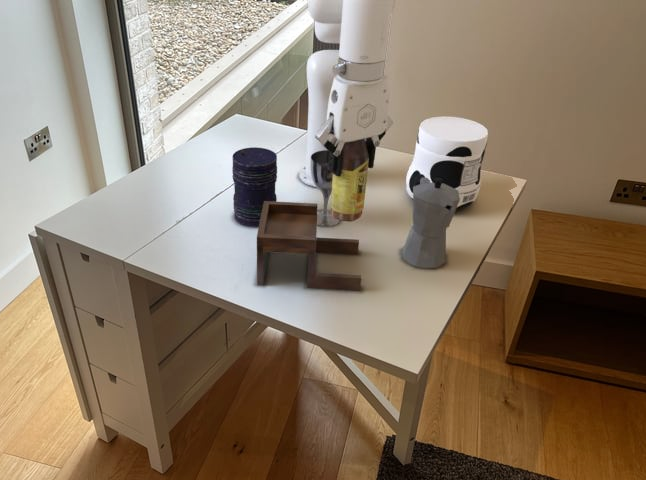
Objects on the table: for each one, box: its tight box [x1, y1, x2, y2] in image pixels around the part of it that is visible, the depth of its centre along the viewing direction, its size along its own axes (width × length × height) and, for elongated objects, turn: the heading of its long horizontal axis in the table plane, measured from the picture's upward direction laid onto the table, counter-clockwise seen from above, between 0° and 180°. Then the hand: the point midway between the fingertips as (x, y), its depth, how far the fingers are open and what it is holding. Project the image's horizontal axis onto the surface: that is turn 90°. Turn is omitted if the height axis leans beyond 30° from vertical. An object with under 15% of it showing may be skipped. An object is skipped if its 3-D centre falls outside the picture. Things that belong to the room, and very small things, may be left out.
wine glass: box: [311, 150, 341, 227], centre depth 131 cm, size 8×8×15 cm
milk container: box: [405, 115, 489, 211], centre depth 138 cm, size 17×17×18 cm
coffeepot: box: [402, 174, 460, 270], centre depth 118 cm, size 15×9×18 cm, turn 13°
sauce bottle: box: [330, 139, 369, 222], centre depth 106 cm, size 6×6×20 cm
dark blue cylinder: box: [231, 146, 278, 228], centre depth 131 cm, size 10×10×15 cm
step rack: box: [256, 201, 362, 292], centre depth 116 cm, size 20×14×11 cm
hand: (350, 168), depth 106 cm, fingers closed on sauce bottle, 6 cm apart
